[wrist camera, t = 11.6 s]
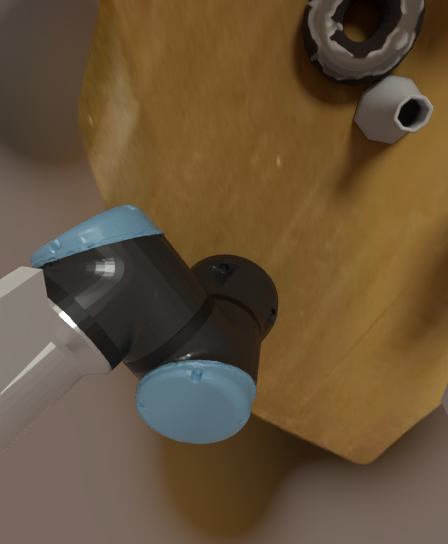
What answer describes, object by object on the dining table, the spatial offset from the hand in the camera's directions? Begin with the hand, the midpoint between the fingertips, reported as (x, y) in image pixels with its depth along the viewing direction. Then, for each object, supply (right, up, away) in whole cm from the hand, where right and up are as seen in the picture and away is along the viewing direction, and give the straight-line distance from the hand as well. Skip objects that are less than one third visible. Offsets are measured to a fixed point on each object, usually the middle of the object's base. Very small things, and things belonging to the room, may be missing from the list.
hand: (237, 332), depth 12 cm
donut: (+14, +28, +28) cm, 42 cm away
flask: (+18, +20, +30) cm, 41 cm away
